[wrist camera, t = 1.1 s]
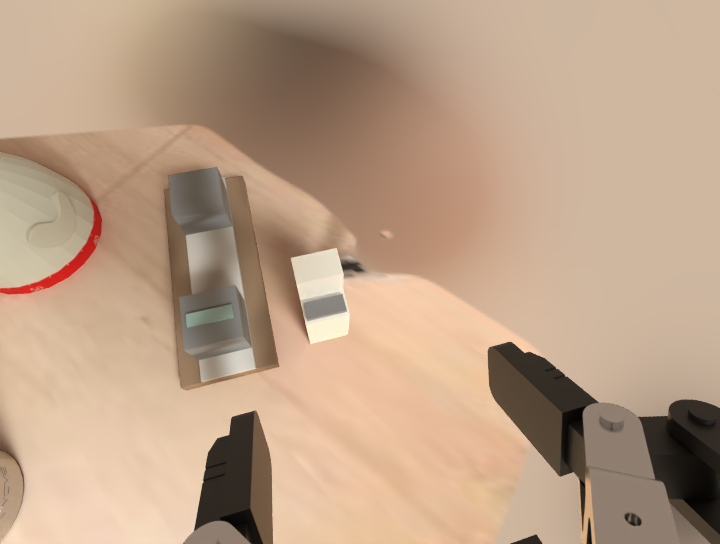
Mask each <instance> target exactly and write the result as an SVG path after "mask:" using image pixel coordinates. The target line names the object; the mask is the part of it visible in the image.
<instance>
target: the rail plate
mask: <svg viewBox="0 0 720 544" xmlns="http://www.w3.org/2000/svg"><path fill="white" fill-rule="evenodd" d="M168 178H169V189H166V190H164V195H165V207H166V218H167V230H168V242H169V254H170V266H171V278H172V290H173V302H174V314H175V326H176V338H177V350H178V362H179V374H180V385H181V388H182V389H185V390H189V389H193V388H197V387H201V386H205V385H209V384H213V383H217V382H221V381H224V380H228V379H232V378H236V377H240V376H244V375H248V374H252V373H256V372H260V371H264V370H268V369H272V368H276V367H279V364H278V358H277V353H276V347H275V342H274V336H273V331H272V326H271V320H270V315H269V309H268V304H267V299H266V293H265V288H264V282H263V277H262V272H261V266H260V261H259V255H258V250H257V245H256V239H255V234H254V228H253V223H252V218H251V212H250V207H249V201H248V196H247V191H246V185H245V182H244V179H243V176H239V177H234V178H228V179H225V176H223V177H221V175H220V173H219V170H218V168H217V167H215V168H209V169H203V170H198V171H192V172H186V173H180V174H174V175H169V176H168Z"/></svg>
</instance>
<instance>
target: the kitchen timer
mask: <svg viewBox="0 0 720 544" xmlns="http://www.w3.org/2000/svg"><path fill="white" fill-rule="evenodd" d="M101 222H102V219H101V216H100V213H99V210H98V207H97V205H96V204H95V203H94V202H93V201H92V200H91V199H90V198H89V196H88V195H87V194H86V193H85V192H84V191H83V190H82V189H81V188H80V187H79V186H77V185H76V184H75V183H73V182H72V181H70V180H69V179H67V178H65V177H63V176H61V175H59V174H57V173H56V172H54V171H52V170H50V169H48V168H46V167H44V166H42V165H40V164H38V163H36V162H34V161H32V160H29V159H26V158H24V157H20V156H16V155H12V154H7V153H2V152H0V292H1V293H5V294H23V293H31V292H35V291H38V290H42V289H45V288H49V287H51V286H53V285H55V284H57V283H58V282H60V281H62V280H64V279H66V278H68V277H69V276H70V275H72V274H73V273H74V272H75V271H76V270H77V269H79V268H80V267H81V266H82V265H83V264H84V263H85V262H86V261H87V259H88V258H89V257H90V255H91V254H92V252H93V251H94V250H95V248H96V245H97V243H98V240H99V238H100V235H101Z"/></svg>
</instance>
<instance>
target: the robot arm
mask: <svg viewBox="0 0 720 544" xmlns="http://www.w3.org/2000/svg"><path fill="white" fill-rule="evenodd" d="M488 370H489V386H490V390H491V393H492V395H493V397H494V399H495V401H496V402H497V403H498V405H499V406H500V407H501V408H502V409H503V410H504V412H505V413H506V414H507V415H508V416H509V417H510V419H511V420H512V421H513V422H514V423H515V425H516V426H517V427H518V428H519V429H520V430H521V432H522V433H523V434H524V435H525V436H526V437H527V439H528V440H529V441H530V442H531V443H532V445H533V446H534V447H535V448H536V449H537V450H538V452H539V453H540V454H541V455H542V456H543V457H544V459H545V460H546V461H547V462H548V463H549V465H550V466H551V467H552V468H553V469H554V470H555V471H556V473H557V474H558V475H559V476H563V475H566V474H569V473H572V472H574V473H575V474H576V475H577V476H578V477H579V485H578V489H579V507H580V508H579V509H580V529H581V544H680V542H679V537H678V534H677V530H676V526H675V522H674V519H673V515H672V511H671V507H670V504H669V502H670V503H671V504H672V505H673V506H674V507H675V508H676V509H677V510H678V511H679V512H680V513H681V514H682V515H683V516H684V517H685V518H686V519H687V520H688V521H689V522H690V523H691V524H692V525H693V526H694V527H695V528H696V529H697V530H698V531H699V532H700V533H701V534H702V535H703V536H704V537H705V538H706V539H707V540H708V541H709V542H710V543H711V544H720V408H718V407H716V406H714V405H712V404H708V403H706V402H702V401H697V400H679V401H676V402H674V403H672V404H671V405H670V407H669V411H668V416H660V417H659V416H657V417H637V416H636V415H635V414H634V413H632V412H631V411H629V410H628V409H626V408H624V407H621V406H619V405H615V404H611V403H599V402H597V401H596V400H595V399H594V398H592V397H591V396H590V395H589V394H588V393H586V392H585V391H584V390H583V389H582V388H580V387H579V386H578V385H577V384H575V383H574V382H573V381H572V380H571V379H569V378H568V377H565V375H564V374H563V373H562V372H561V371H559V370H558V369H556V367H554V366H553V365H552V364H551V363H550V362H548V361H547V360H546V359H545V358H543V357H540V356H538V355H536V354H533V353H531V352H527V353H524V352H523V351H522V350H520V349H519V348H518V347H517V346H516V345H515V344H513V343H512V342H507V343H503V344H500V345H496V346H493V347H490V348H489V349H488ZM203 480H204V483H203V484H202V490H201V496H200V501H199V507H198V512H197V518H196V524H195V529H194V532H193V533H192V534H191V535H190V536H189V537H188V538H187V539H186V540H185V542H184V543H183V544H273V526H272V468H271V458H270V453H269V448H268V445H267V442H266V439H265V435H264V432H263V429H262V426H261V423H260V420H259V416H258V414H257V412H256V411H252V412H248V413H245V414H241V415H237V416H234V417H232V419H231V425H230V434H229V435H228V436H224V437H221V438H217V440H216V441H215V443H214V444H213V446H212V448H211V449H210V451H209V452H208V456H207V462H206V470H205V473H204V479H203ZM22 496H23V477H22V474H21V470H20V468H19V466H18V464H17V463H16V461H15V460H14V459H13V458H12V457H11V456H10V455H9V454H8V453H6V452H3V451H1V450H0V541H1V540H2V539H3V537H4V536H5V535H6V534H7V532H8V531H9V529H10V528H11V526H12V524H13V522H14V520H15V519H16V517H17V514H18V511H19V508H20V506H21V502H22ZM511 544H542V542H541V541H540V539H539V538H538V536H537V535H534V536H531V537H528V538H525V539H522V540H520V541H517V542H514V543H511Z"/></svg>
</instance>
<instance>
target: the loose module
mask: <svg viewBox="0 0 720 544" xmlns="http://www.w3.org/2000/svg"><path fill="white" fill-rule="evenodd" d="M291 262H292V266H293V271H294V275H295V280H296V284H297V288H298V293H299V297H300V301H301V306H302V310H303V315H304V319H305V324H306V328H307V332H308V336H309V340H310V344H312V343H316V342H320V341H324V340H328V339H332V338H336V337H340V336H344V335H348V329H349V317H350V314H349V310H348V306H347V303H346V299H345V295H344V292H343V270H342V267H341V263H340V259H339V256H338V252H337V248H335V249H330V250H325V251H321V252H316V253H311V254H307V255H302V256H297V257H292V258H291Z"/></svg>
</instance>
